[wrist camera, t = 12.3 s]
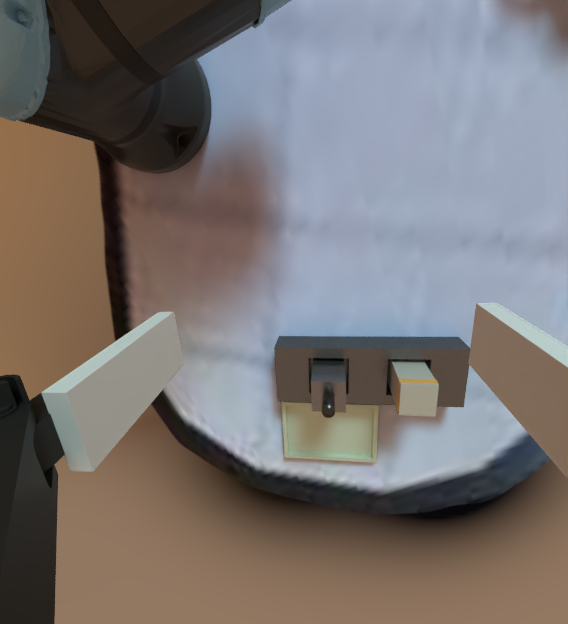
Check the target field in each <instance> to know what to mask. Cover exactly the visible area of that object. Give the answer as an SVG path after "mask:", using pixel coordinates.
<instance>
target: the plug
mask: <svg viewBox="0 0 568 624" xmlns="http://www.w3.org/2000/svg"><path fill="white" fill-rule="evenodd" d="M387 381H388V384H389V387H390V390H391V393H392V396H393V399H394V402H395V405H396V410H397V413H398V414H399V415H406V416H432V417H436V409H437V399H438V390H439V384H438V382H437V380H436V379H435V378H434V376H433V375H432V373H431V372H430V370H429V368H428V367H427V365H426V364H425V362H424V360H423V359H388V373H387Z"/></svg>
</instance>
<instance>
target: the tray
mask: <svg viewBox="0 0 568 624" xmlns="http://www.w3.org/2000/svg"><path fill="white" fill-rule="evenodd" d="M281 403H282V420H283V437H284V453H285V458H302V459H320V460H337V461H354V462H371V463H376V459H377V436H378V413H379V404H353V403H346V413H345V412H335V415H334V416H333V417H331V418H326V417H324V416H323V414H322V412H318V411H312V402H293V401H282V402H281Z"/></svg>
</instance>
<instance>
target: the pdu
mask: <svg viewBox="0 0 568 624" xmlns="http://www.w3.org/2000/svg"><path fill="white" fill-rule="evenodd" d="M274 349H275V365H276V380H277V396H278V401H293V402H312V411H318V412H322V414H323V416H324V417H326V418H331V417H333V416H334V415H335V412H345V413H346V403H353V404H383V405H395V402H394V399H393V396H392V393H391V390H390V387H389V384H388V381H387V373H388V359H423V360H424V362H425V364H426V365H427V367H428V368H429V370H430V372H431V373H432V375H433V376H434V378H435V379H436V380H437V382H438V384H439V390H438V399H437V406H443V407H464V399H465V392H466V384H467V377H468V369H469V355H470V348H469V347H468V346H467V345H466V344H465V343H464V342H463V341H462V340H461V339H460V338H459V337H308V336H279V338H278V340H277V343H276V345H275V348H274Z"/></svg>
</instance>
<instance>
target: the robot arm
mask: <svg viewBox="0 0 568 624" xmlns="http://www.w3.org/2000/svg"><path fill="white" fill-rule="evenodd" d="M289 1H291V0H0V116H1V117H2V118H5V119H8V120H12V121H16V120H18V121H22V122H25V123H29V124H33V125H36V126H40V127H44V128H47V129H51V130H55V131H58V132H62V133H66V134H70V135H73V136H77V137H81V138H84V139H87V140H91V141H95V142H96V143H97V144H98V145H99V146H101V147H102V148H103V149H104V150H105V151H106V152H107V153H108V154H109V155H110V156H112V157H113V158H114V159H116V160H117V161H119V162H120V163H122V164H124V165H126V166H128V167H131V168H133V169H137V170H141V171H146V172H151V173H164V172H169V171H172V170H175V169H178V168H179V167H181V166H183V165H185V164H186V163H187V162H188V161H190V160H191V159H192V158H193V157H194V156H195V154H196V153H197V152H198V150H199V149H200V147H201V146H202V144H203V142H204V140H205V137H206V135H207V132H208V128H209V124H210V117H211V98H210V91H209V87H208V83H207V80H206V77H205V74H204V72H203V70H202V68H201V66H200V64H199V62H198V61H197V59H198V58H200V57H201V56H203V55H205V54H206V53H208V52H210V51H211V50H213V49H215V48H216V47H218V46H220V45H221V44H223V43H225V42H226V41H228V40H230V39H231V38H233V37H235V36H236V35H238V34H240V33H241V32H243V31H245V30H246V29H248V28H250V27H251V26H253V27H254V28H256V27H258V26H260V25H261V24H262V23H263V21H264V19H265V17H267V16H268V15H270V14H271V13H273V12H274V11H276V10H277V9H279V8H280V7H282V6H283V5H285V4H286V3H288V2H289ZM183 365H184V362H183V356H182V351H181V346H180V341H179V336H178V331H177V325H176V320H175V315H174V312H158V313H156V314H155V315H153V316H152V317H150V318H149V319H148V320H146V321H145V322H143V323H142V324H140V325H139V326H137V327H136V328H134V329H133V330H132V331H130V332H129V333H127V334H126V335H124V336H123V337H121V338H120V339H118V340H117V341H116V342H114V343H113V344H111V345H110V346H108V347H107V348H105V349H104V350H102V351H101V352H100V353H98V354H97V355H95V356H94V357H92V358H91V359H89V360H88V361H86V362H85V363H84V364H82V365H81V366H79V367H78V368H76V369H75V370H73V371H72V372H70V373H69V374H68V375H66V376H65V377H63V378H62V379H60V380H59V381H57V382H56V383H54V384H53V385H51V386H50V387H48V388H47V389H46V390H44V391H43V392H41V393H40V394H39V395H37V396H36V397H34V398H33V399H31V400H30V401H29V398H28V396H27V393H26V390H25V388H24V385H23V383H22V380H21V378H20V376H18V375H4V376H0V624H54V615H55V575H56V535H57V534H56V533H57V493H58V473H57V471H56V468H55V466H54V464H55V463H56V462H57V461H58V460H59V459H60V458H61V457H62V456H63V455H64V456H65V458H66V461H67V464H68V467H69V469H70V471H85V472H87V471H88V472H93V471H94V470H95V469H96V468H97V466H98V465H99V464H100V463H101V462H102V461H103V459H104V458H105V457H106V456H107V455H108V453H109V452H110V451H111V450H112V449H113V447H114V446H115V445H116V444H117V443H118V442H119V440H120V439H121V438H122V437H123V436H124V434H125V433H126V432H127V431H128V430H129V429H130V427H131V426H132V425H133V424H134V423H135V422H136V420H137V419H138V418H139V417H140V416H141V415H142V413H143V412H144V411H145V410H146V409H147V407H148V406H149V405H150V404H151V403H152V402H153V400H154V399H155V398H156V397H157V396H158V394H159V393H160V392H161V391H162V390H163V389H164V387H165V386H166V385H167V384H168V383H169V381H170V380H171V379H172V378H173V377H174V376H175V374H176V373H177V372H178V371H179V370H180V368H181V367H182V366H183ZM469 365H470V366H471V367H472V368H473V369H474V370H475V372H476V373H477V374H478V375H479V376H480V377H481V378H482V380H483V381H484V382H485V383H486V384H487V385H488V387H489V388H490V389H491V390H492V391H493V392H494V394H495V395H496V396H497V397H498V398H499V399H500V401H501V402H502V403H503V404H504V405H505V406H506V407H507V409H508V410H509V411H510V412H511V413H512V414H513V416H514V417H515V418H516V419H517V420H518V421H519V423H520V424H521V425H522V426H523V427H524V428H525V429H526V431H527V432H528V433H529V434H530V435H531V436H532V438H533V439H534V440H535V441H536V442H537V443H538V445H539V446H540V447H541V448H542V449H543V450H544V452H545V453H546V454H547V455H548V456H549V457H550V458H551V460H552V461H553V462H554V463H555V464H556V465H557V467H558V468H559V469H560V470H561V471H562V472H563V474H564V475H565V476H566V477H567V478H568V346H566V345H564V344H563V343H561V342H560V341H558V340H556V339H555V338H553V337H551V336H550V335H548V334H547V333H545V332H543V331H542V330H540V329H538V328H537V327H535V326H534V325H532V324H530V323H529V322H527V321H525V320H524V319H522V318H521V317H519V316H517V315H516V314H514V313H512V312H511V311H509V310H508V309H506V308H504V307H503V306H501V305H499V304H498V303H476V310H475V318H474V325H473V333H472V340H471V348H470V355H469Z"/></svg>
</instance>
